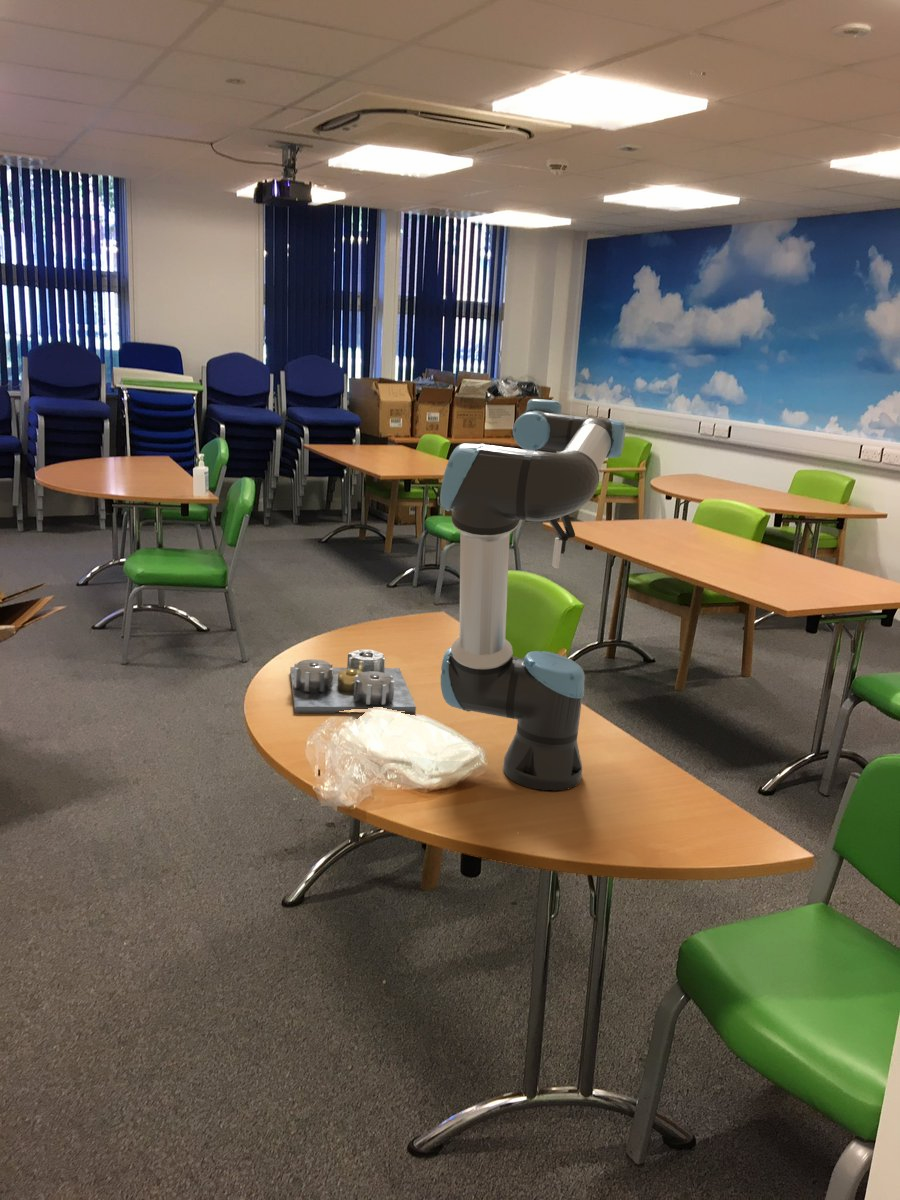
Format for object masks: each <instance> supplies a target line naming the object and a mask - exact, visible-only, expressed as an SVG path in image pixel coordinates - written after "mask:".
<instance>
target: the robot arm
mask: <svg viewBox="0 0 900 1200" xmlns="http://www.w3.org/2000/svg"><path fill="white" fill-rule="evenodd" d="M512 436H513V440H514V441H515V443H516V444H517V445H518V446H519V447H520V448H515V447H507V446H500V445H493V444H491V445H490V444H485V443H483V442H482V443H469V442H468V443H460V444H458V445H457V446H456V447H455V448H454V449H453V451H452V453H450V456H449V459H448V461H447V464H446V467H445V469H444V470H445V471H444V474H443V478H442V482H441V488H440V497H439V498H440V500H439V502H440V508H441V509H443V510H445V511H447V512H451V523H452V525H453V527H454V528H455V529H456V530H457V531H459V534H460V539H459V540H460V541H459V542H460V546H459V547H460V549H459V550H460V551H459V552H460V553H459V554H460V555H459V630H458V631H459V634H458V635H459V636H458V638H456V639H455V640H454V641H453V643H452V644H451V647H449V648H448V649H447V650H446V651H445V652H444V655H443V658H442V661H441V662H442V663H441V673H440V688H441V689H440V690H441V693H442V696H443V697H442V698H443V700H444V701H445V703H446V704H447V705H448V706H449V707H452V708H454V709H455V708H456V709H459V710H463V711H466V712H474V713H480V714H485V715H486V714H487V715H491V716H497V717H502V718H507V719H513V720H517V723H516V724H517V725H516V731H515V735H514V737H513V738H512V740H511V742H510V744H509V747H508V749H507V751H506V753H505V755H504V759H503V766H502V767H503V768H502V769H503V773H504V775H505V776H506V777H507V778H508V779H509V780H511V781H512V782H514V783H516V784H518V785H520V786H523V787H525V788H528V787H529V788H528V789H532V788H533V790H537V789H541V790H540V791H544V790H561V791H565V789H567V790H569V789H568V788H570V789H573V788H575V787H577V784H578V783H579V782H580V783H581V781H582V775H583V763H582V760H581V755H580V750H579V745H578V734H579V727H580V719H581V711H582V703H583V697H584V696H585V672H584V670H583V668H582V667H581V666H580V664H578V663H577V662H576V661H574V660H573V659H570V658H569V657H566V656H564V655H561V654H559V653H555V652H551V651H544V650H542V651H539V650H534V651H529V652H528V653H526V654H525V656H524V657H523V658H522V657H521V658H520V657H516V656H514V655H513V654H514V652H513V646H512V644H511V642H510V641H508V639H506V632H507V631H506V629H507V606H508V605H507V604H508V584H509V583H508V582H509V581H508V580H509V562H510V561H509V560H510V559H509V557H510V556H509V555H510V536H511V533H512V532H513V531H514V530H516V529H517V528H518V526H519V524H520V521H529V522H546V521H548V523H549V524H550V526H551V527H552V528H553V530H554V531H555V533H556V534H557V536H558V537H555V538H554V545H553V554H552V561H551V567H553V568H554V569H558V570H559V569H560V563H561V562H560V561H561V555H562V554H565V551H566V543H567V541H568V540H569V539H570V538H572V539H573V538H575V537H576V533H575V530H574V527H573V524H572V521H571V519H570V514H572V513H574V512H576V511H578V510H579V509H580V508H582V507H584V506H585V505H586V504H587V503H588V502H590V500H591V499H592V498H593V497H594V495H595V494H596V491H597V489H598V487H599V483H600V470H601V468H602V466H603V464H604V462H605V459H611V458H612V459H618V458H619V457H622V454H623V453H622V452H623V449H624V444H625V436H626V424H625V422H623V421H621V420H617V419H611V417H610V418H601V417H592V416H579V415H572V414H562V404H561V402H560V401H557V400H551V399H544V398H543V399H542V398H541V399H540V398H531V399H529V400H528V401H527V404H526V410H525V411H524V413H522V414H521V415H519V416H518V418H516V420H515V422H514V423H513V427H512ZM559 518H560V519H561V521H562V524H563V528H564V530H565V531H564V530H563V528H562V526H561V525H560V524H559V522H558V521H557V519H559ZM580 783H579V784H580ZM579 784H578V785H579ZM574 786H575V787H574ZM572 787H573V788H572Z"/></svg>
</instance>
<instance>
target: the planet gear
mask: <svg viewBox="0 0 900 1200" xmlns="http://www.w3.org/2000/svg"><path fill="white" fill-rule="evenodd" d="M364 653H369V654H371V657H362V656H363V654H364ZM346 668H347V669H356V670H360V671H362V672H369V671H376V672H382V673H384V671H385V668H386V658H385V654H384V653H382V652H380V651H376V650H374V649H357V650H354V651H353V650H352V651H351V652H349V653H348V654H347V667H346Z"/></svg>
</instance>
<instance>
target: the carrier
mask: <svg viewBox="0 0 900 1200" xmlns="http://www.w3.org/2000/svg"><path fill="white" fill-rule="evenodd" d="M362 657H371V654H369V653H364V654H363V656H362ZM289 675H290V681H291V682H290V683H291V684H290V685H291V692H292V698H293V699H292V701H293V708H294V709H293V710H294V714H336V713H335V712H339V711H344V710H351V709H368V708H373V707H383V708H387V709H392V710H397V711H405V712H408V713H407V714H416V711H417V706H416V704H415V702H414V699H413V696H412V694H411V693H410V689H409V687H408V685H407V683H406V680H405V678H404V676H403V674H402V672H401V669H400V668H398V667H397V668H396V667H385V671H384V673H382V672H376V671H369V672H362V671H360V670H356V669H347V667H333V664H332V663H331V662H330V663H329V662H328V661H326V660H321V659H315V658H314V659H303V660H301V661H299V662H295V663H294V665H293V666H291V667H290V671H289Z"/></svg>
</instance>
